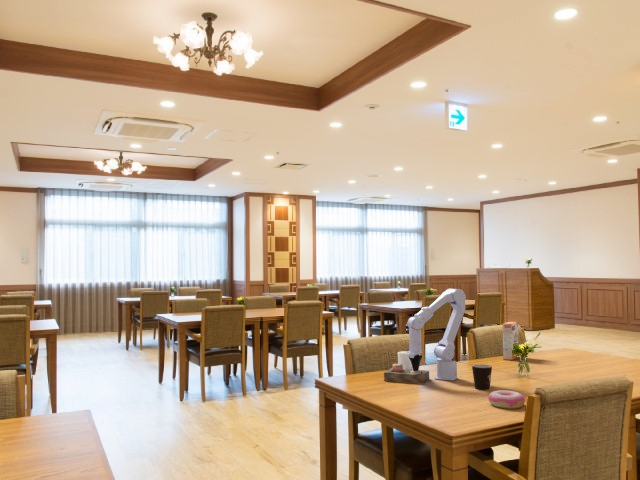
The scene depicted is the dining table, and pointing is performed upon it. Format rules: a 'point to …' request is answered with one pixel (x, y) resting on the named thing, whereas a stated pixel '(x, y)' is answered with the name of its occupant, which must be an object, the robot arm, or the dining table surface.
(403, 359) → the white cup
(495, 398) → the donut
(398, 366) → the plunger
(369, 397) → the dining table surface
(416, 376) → the housing
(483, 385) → the coffee mug
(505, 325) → the cracker box
